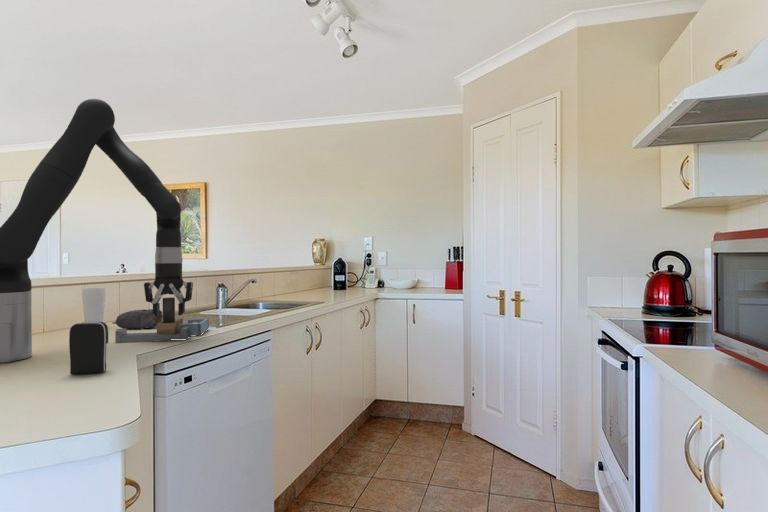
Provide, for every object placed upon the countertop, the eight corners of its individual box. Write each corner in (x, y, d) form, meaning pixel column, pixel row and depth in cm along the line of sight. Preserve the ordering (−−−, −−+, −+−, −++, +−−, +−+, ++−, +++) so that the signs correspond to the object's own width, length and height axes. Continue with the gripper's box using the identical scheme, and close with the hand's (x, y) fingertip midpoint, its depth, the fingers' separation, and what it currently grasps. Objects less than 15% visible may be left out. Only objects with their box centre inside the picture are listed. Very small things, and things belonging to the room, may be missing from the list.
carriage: (174, 339, 130) (174, 298, 130) (156, 340, 129) (156, 299, 129) (188, 330, 145) (188, 294, 145) (173, 331, 145) (173, 294, 145)
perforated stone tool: (112, 330, 149) (112, 310, 149) (119, 328, 154) (119, 308, 154) (157, 329, 151) (157, 310, 151) (163, 327, 156) (163, 308, 156)
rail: (185, 340, 131) (185, 329, 131) (115, 342, 128) (115, 331, 128) (189, 337, 136) (189, 326, 136) (121, 339, 133) (121, 328, 133)
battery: (110, 369, 99) (110, 320, 99) (103, 373, 95) (103, 322, 95) (76, 370, 97) (76, 321, 97) (68, 375, 94) (68, 323, 94)
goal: (200, 335, 139) (200, 323, 138) (178, 336, 137) (178, 324, 137) (208, 329, 149) (208, 318, 149) (188, 330, 148) (188, 319, 148)
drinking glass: (93, 331, 147) (93, 288, 147) (77, 330, 148) (77, 287, 148) (110, 328, 154) (109, 286, 154) (94, 327, 155) (94, 286, 155)
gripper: (139, 262, 128) (139, 317, 128) (189, 262, 130) (190, 316, 130) (148, 261, 135) (148, 314, 135) (196, 261, 137) (196, 313, 138)
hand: (169, 315), depth 133 cm, fingers open, 6 cm apart
